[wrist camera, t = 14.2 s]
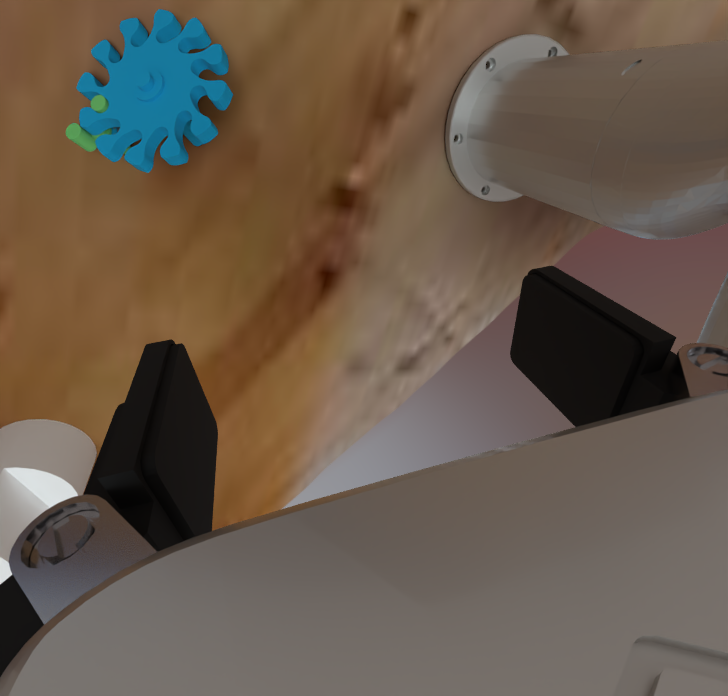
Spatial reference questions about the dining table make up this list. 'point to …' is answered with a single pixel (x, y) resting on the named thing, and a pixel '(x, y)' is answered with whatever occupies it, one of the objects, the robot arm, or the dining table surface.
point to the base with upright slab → (38, 474)
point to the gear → (152, 93)
